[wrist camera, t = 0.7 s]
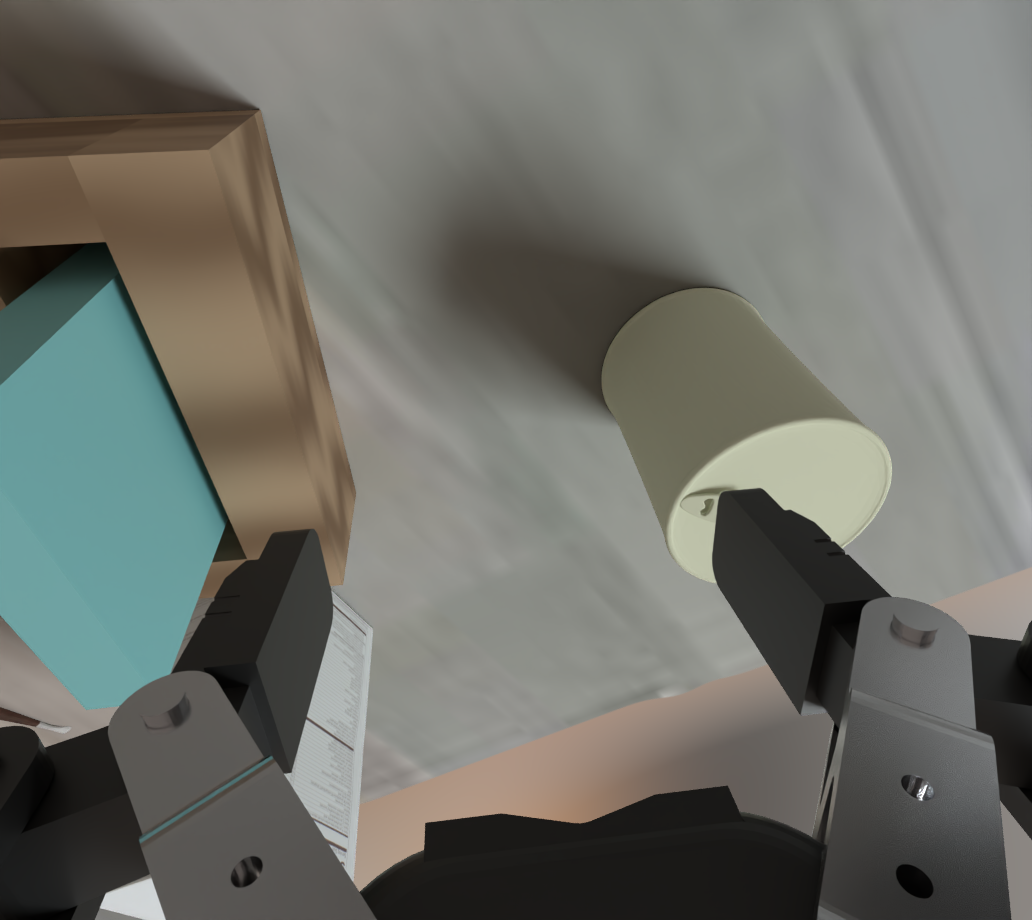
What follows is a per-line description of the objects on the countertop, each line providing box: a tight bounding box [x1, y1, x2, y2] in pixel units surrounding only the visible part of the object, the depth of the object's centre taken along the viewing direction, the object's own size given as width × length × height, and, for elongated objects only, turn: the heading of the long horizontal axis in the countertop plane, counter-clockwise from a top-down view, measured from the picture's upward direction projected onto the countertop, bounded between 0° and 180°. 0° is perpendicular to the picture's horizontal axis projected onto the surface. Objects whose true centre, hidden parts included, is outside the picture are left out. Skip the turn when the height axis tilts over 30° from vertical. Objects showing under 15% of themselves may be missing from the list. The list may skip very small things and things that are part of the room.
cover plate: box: [0, 242, 228, 710], centre depth 23 cm, size 12×2×14 cm, turn 1°
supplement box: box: [100, 590, 373, 920], centre depth 36 cm, size 10×9×17 cm
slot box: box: [0, 110, 356, 599], centre depth 26 cm, size 20×12×7 cm, turn 1°
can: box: [601, 288, 892, 583], centre depth 28 cm, size 9×9×12 cm
